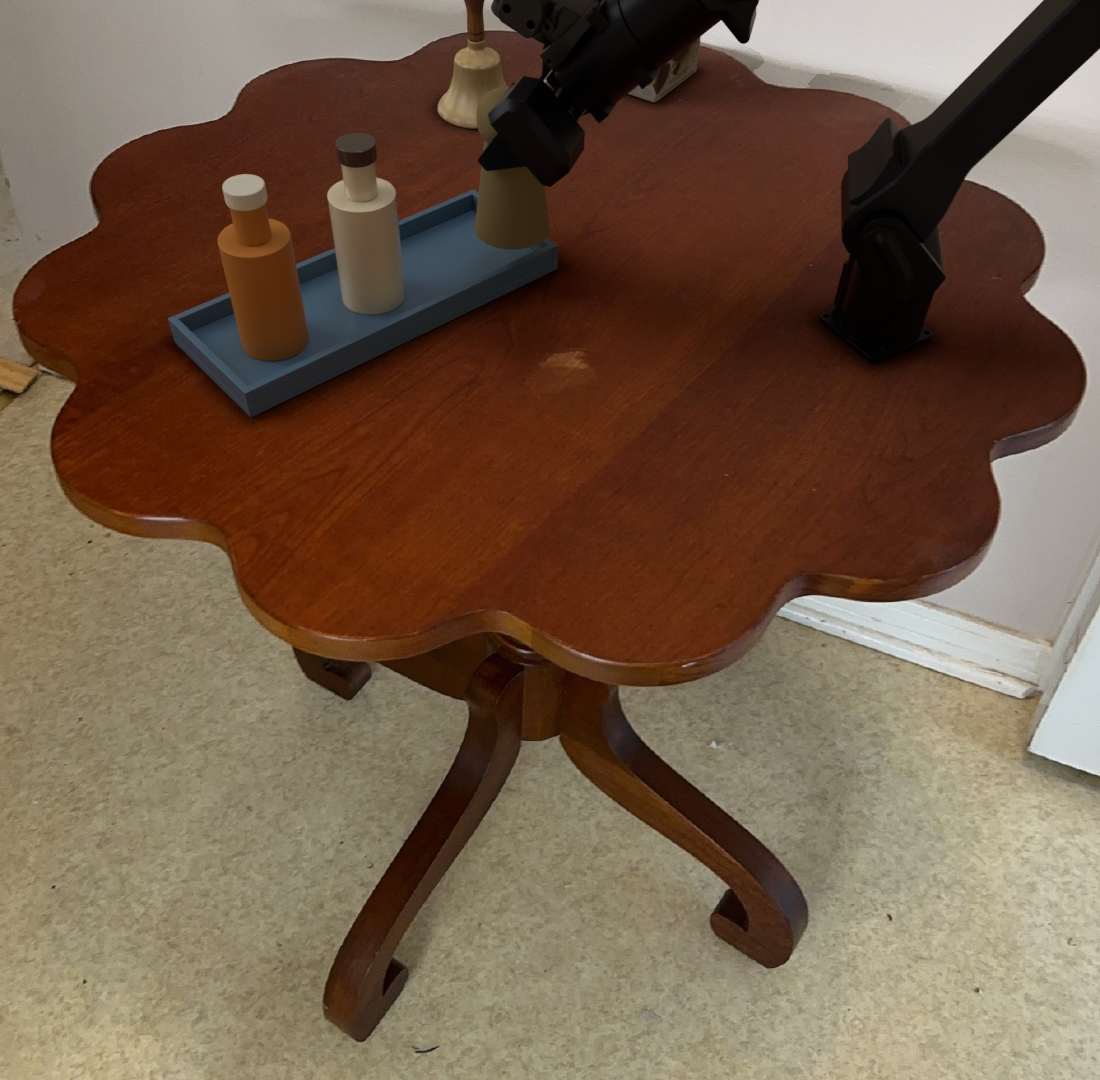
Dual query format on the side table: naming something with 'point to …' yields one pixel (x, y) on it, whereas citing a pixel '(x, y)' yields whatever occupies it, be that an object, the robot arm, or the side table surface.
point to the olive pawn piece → (508, 196)
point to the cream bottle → (365, 230)
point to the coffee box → (671, 74)
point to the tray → (352, 338)
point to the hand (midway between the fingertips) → (495, 148)
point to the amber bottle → (261, 274)
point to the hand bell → (471, 73)
